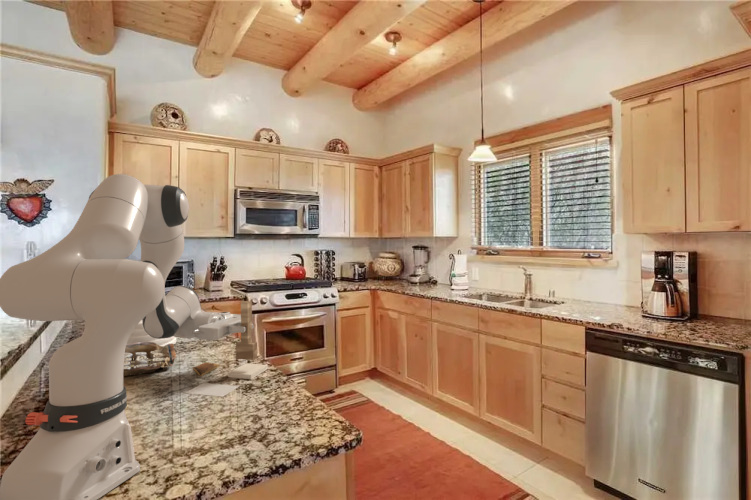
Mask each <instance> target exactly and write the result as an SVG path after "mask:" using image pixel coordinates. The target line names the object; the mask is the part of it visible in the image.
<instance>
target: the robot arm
mask: <svg viewBox="0 0 751 500" xmlns="http://www.w3.org/2000/svg"><path fill="white" fill-rule="evenodd" d="M189 212H190V203H189V199H188V197H187V194H186V193H185V191H184V190H182V188H180V187H178V186H174V185H169V184H165V185H158V184H157V185H156V184H144V183H143V182H142V181H141V180H139V179H138V178H136V177H134V176H133V175H129V174H126V173H117V174H116V173H115V174H112V175H109V176H107V177H105V179H103V180H102V181H101V182H100V183H99V185H97V187H96V188H95V189H93V191H92V192H91V193H90V195H89V197H88V200H87V201H86V203H85V206H84V208H83V209H82V211H81V214H80V216H79V218H78V220H77V221H76V223H75V224H74V226H73V228H72V229H71V231H70V232H69V233H68V234H67V235H66V236H65V237H64V238H62V239H61V240H60V241H58V242H57V243H55V244H54V245H53V246H51V247H50V248H48V249H47V250H45V251H44V252H42V253H40V254H38V255H37V256H35V257H33V258H30V259H28V260H26V261H23V262H20V263H17V264H14V265H11V266H10V267H9V268H7V270H5V271H4V272H3V274H2V275H1V276H0V309H1V310H2V312H4V314H6V315H7V316H9V317H11V318H14V319H22V320H28V321H36V322H59V321H60V322H61V321H62V322H63V321H84V329H83V332H82V335H81V336H79V337H77V338H75V339H73V340H71V341H69V342H67V343H66V344H64V345H61V346H60V347H59V348H57V350H56V351H54V353H53V354H52V356H51V357H50V359H49V362H48V395H49V397H48V398H49V399H48V400H47V402H46V404H45V407H44V409H43V411H42V412H41V411H40V412H35V411H32V412H29V413H28V414H27V415H26V417H25V421H24V422H25V424H26V425H27V426H34V425H35V426H39V429H38V431H37V432H36V433H35V435H34V436H33V437H32V438H31V440H30V441H29V442H28V443H27V444H26V445H25V447H24V448H23V449H22V450H21V452H20V453H18V455H17V456H16V457H15V459H14V460H13V461H12V462H11V464H10V465H9V466H8V467H7V468H6V469H5V470H4V472H3V474H2V475H1V476H2V477H1V480H0V500H99V499H100V498H101V497H103V496H105V495H106V494H108V493H109V492H111V491H112V490H113V489H115V488H117V487H118V486H120V485H121V484H122V483H124V482H126V481H127V480H129V479H130V478H131V477H133V476H135V475H136V474H137V473H139V472H140V470H141V465H140V463H139V461H137V460H136V456H135V448H134V441H133V433H132V427H131V423H130V422H129V420H128V417H127V415H126V408H127V406H128V404H127V400H128V394H127V388H126V386H124V376H123V373H124V356H125V349H126V345H127V342H128V339H129V337H130V335H131V333H132V331H133V330H134V328H135V327H136V326H137V324H138V323H139V322H140V321H141V320H142V322H143V327H144V329H145V331H146V333H147V334H148V335H150V336H151V337H153V338H158V339H164V338H170V337H172V336H174V337H176V338H179V339H194V338H195V339H198V340H207V341H209V340H210V341H214V340H220V339H222V338H225V337H227V336H231V335H233V334H237V333H240V334H241V333H244V332H246V331H247V327H246V326H241V313H239V314H237V313H231V312H230V311H221V312H218V311H217V312H216V311H214V312H213V311H202V305H201V302H200V298H199V295H198V293H197V292H196V291H195V290H194V289H192V288H191V287H188V286H184V285H177V286H176V285H175V287H173V288H172V289H170V291H169V292H168V293H167V294H166V291H165V289H166V287H165V285H166V281H167V278H168V276H169V274H170V273H171V271H172V270H173V268H174V266H175V265H176V263H177V262H178V261H179V259H180V258H181V257H182V255H183V253H184V250H185V236H184V231H183V228H182V225H183V224H184V223H185V222H186V221H187V219H188V217H189ZM138 242H139V243H140V260H136V259H135V260H134V259H129V258H128V257H130V256H131V255H132V254H133V253H134V252H135V250H136V249H137V246H138V244H139V243H138ZM127 258H128V259H127ZM252 330H254V323H252Z"/></svg>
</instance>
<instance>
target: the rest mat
mask: <svg viewBox="0 0 751 500" xmlns="http://www.w3.org/2000/svg"><path fill="white" fill-rule="evenodd" d="M239 387H240V385H230V384H219V383H211V382H210V383H209V382H203V383H201V384H199V385H197V386H195V387H193V388H192V389H189V390H187V391H186V392H184V393H185V394H190V395H191V394H192V395H199V396H200V395H201V396H210V397H211V396H212V397H225V396H226V395H228V394H229V393H231V392H233V391H235V390H237V389H238V388H239Z"/></svg>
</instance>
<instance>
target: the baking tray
mask: <svg viewBox="0 0 751 500" xmlns="http://www.w3.org/2000/svg"><path fill="white" fill-rule="evenodd" d="M149 356H150V357H149ZM133 358H134V359H135V360H134V363H133V367H131V364H132V363H131V362H132V361H131V360H133ZM147 358H150V361H149V360H148V359H147ZM176 358H177V353H176V350H175V344H172V343H171V344H167V345H165V346H164V347H162V346H159V345H158V344H156V343H154V342H137V343H132V344H128V345H126V349H125V356H124V373H123V377H128V375H129V376H134V374H135V375H140V374H139V373H141V374H147V373H152V372H153V373H154V372H155V373H156V370H159V369H160V368H162V370H161V371H165V370H167V368H169V367H171V366H174V363H175V360H176ZM147 361H148V362H149V363H148V362H147ZM150 362H151V364H150ZM148 364H150V365H148Z"/></svg>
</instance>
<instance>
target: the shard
mask: <svg viewBox="0 0 751 500" xmlns="http://www.w3.org/2000/svg"><path fill="white" fill-rule="evenodd" d="M220 367H221V364H219V363H213V362H203V363H201V364H198V365H196V366H193V368H192V369H193V370H194V371H195V373H196V374H197V375H198V376H200V377H203V376H205V375H206V374H208V373H210V372H212V371H214V370H216V369H218V368H220Z"/></svg>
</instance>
